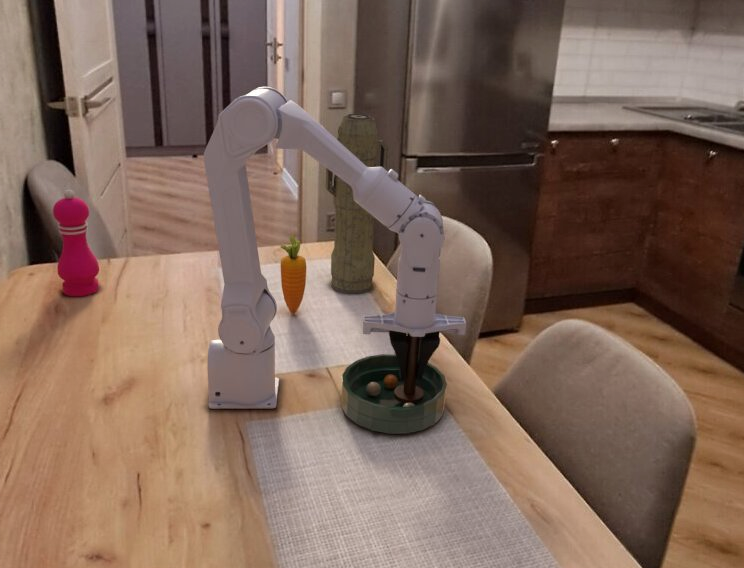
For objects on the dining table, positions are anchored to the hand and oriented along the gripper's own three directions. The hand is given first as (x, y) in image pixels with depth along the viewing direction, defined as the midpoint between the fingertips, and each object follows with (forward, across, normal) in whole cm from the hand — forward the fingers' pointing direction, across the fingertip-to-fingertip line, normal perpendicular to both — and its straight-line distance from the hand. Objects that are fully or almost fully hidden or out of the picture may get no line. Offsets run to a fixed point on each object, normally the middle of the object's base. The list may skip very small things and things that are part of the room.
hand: (410, 376), depth 97 cm
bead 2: (+3, -2, +4) cm, 6 cm away
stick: (+3, 0, 0) cm, 3 cm away
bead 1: (+3, -5, +2) cm, 6 cm away
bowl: (+5, -2, 0) cm, 6 cm away
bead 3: (+3, 0, -4) cm, 5 cm away
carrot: (+5, -18, +31) cm, 36 cm away
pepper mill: (+5, -59, +40) cm, 72 cm away
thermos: (+5, -7, +45) cm, 46 cm away
